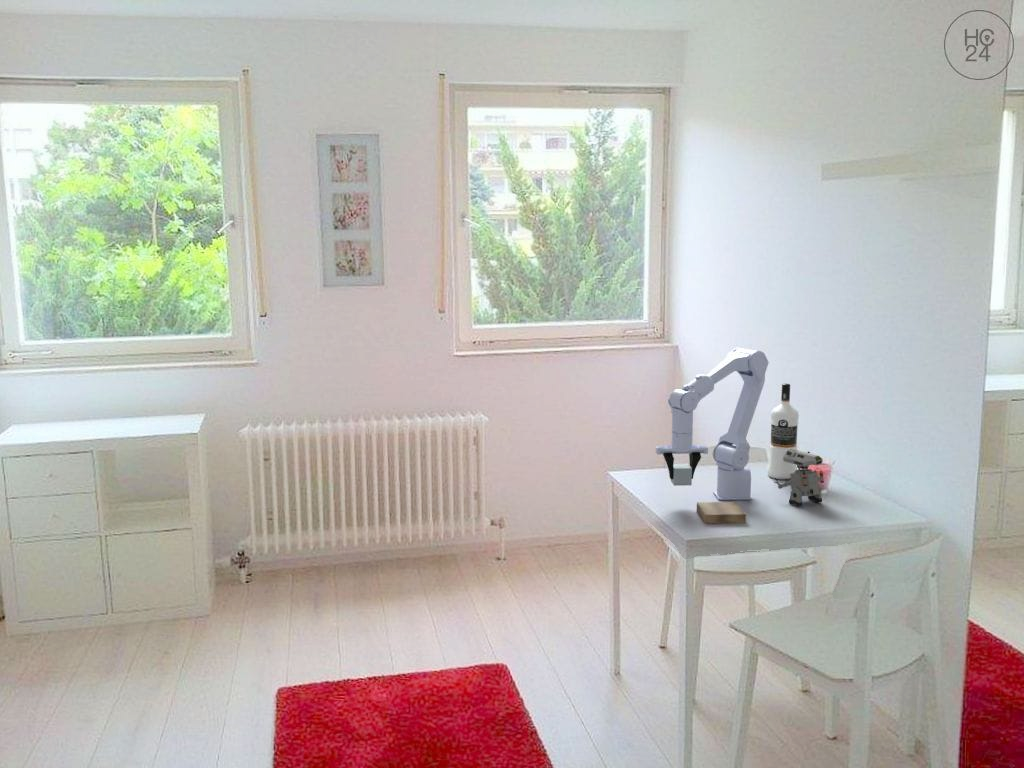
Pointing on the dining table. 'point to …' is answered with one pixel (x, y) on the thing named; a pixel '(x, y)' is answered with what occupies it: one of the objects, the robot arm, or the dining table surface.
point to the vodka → (783, 436)
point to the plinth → (721, 512)
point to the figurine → (803, 477)
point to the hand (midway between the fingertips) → (681, 478)
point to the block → (682, 475)
